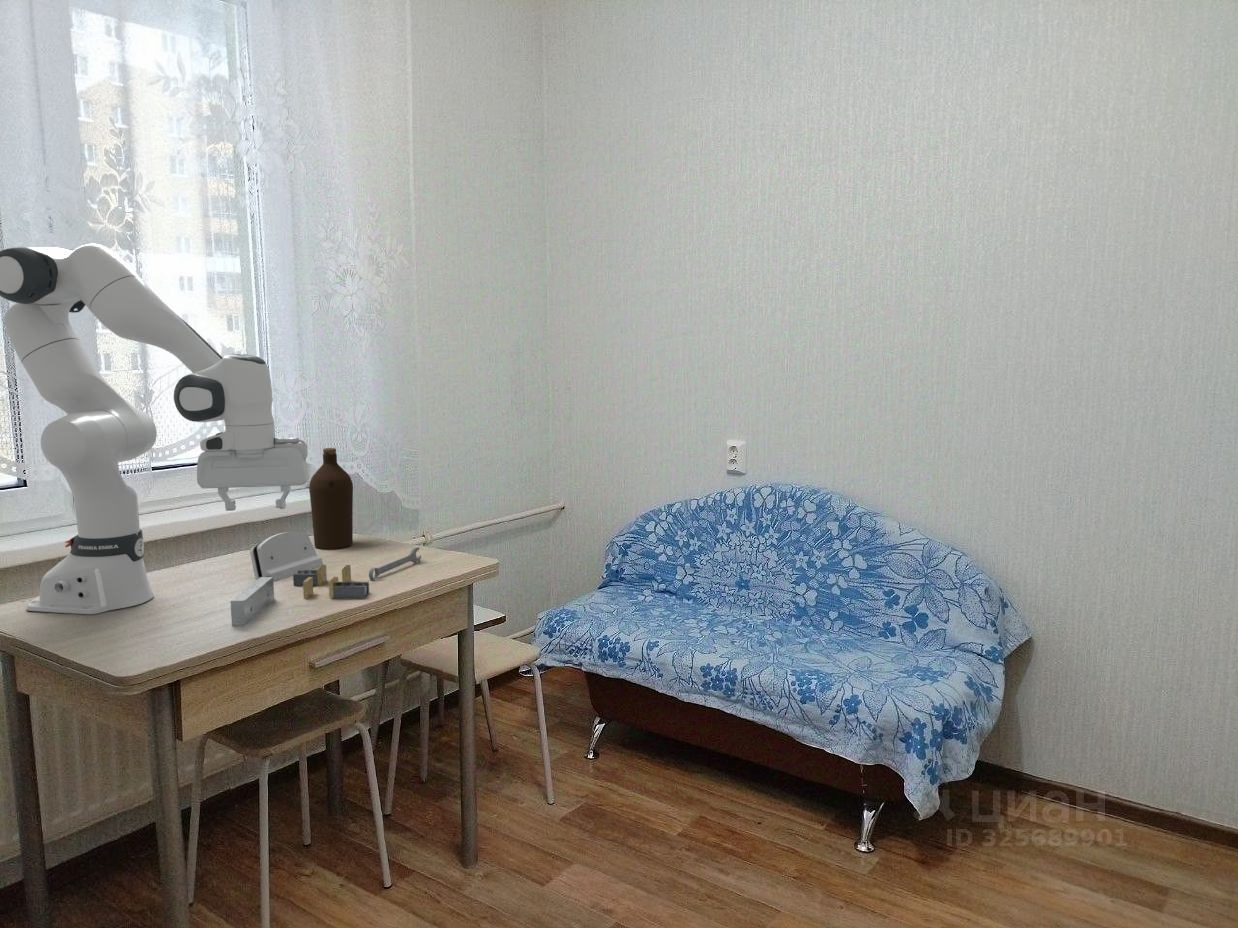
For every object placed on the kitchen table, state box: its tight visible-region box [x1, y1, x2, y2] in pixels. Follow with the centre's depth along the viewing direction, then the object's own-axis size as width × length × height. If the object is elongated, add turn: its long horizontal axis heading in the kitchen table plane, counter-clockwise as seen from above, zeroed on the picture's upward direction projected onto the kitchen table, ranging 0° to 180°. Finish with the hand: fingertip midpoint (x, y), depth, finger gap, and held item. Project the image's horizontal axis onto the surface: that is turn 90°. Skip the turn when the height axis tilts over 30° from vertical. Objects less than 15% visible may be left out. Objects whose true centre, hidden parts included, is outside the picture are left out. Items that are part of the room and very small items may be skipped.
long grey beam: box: [230, 576, 275, 627], centre depth 185 cm, size 3×17×5 cm, turn 2°
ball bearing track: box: [292, 564, 370, 599], centre depth 201 cm, size 18×14×4 cm
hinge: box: [249, 531, 324, 582], centre depth 216 cm, size 17×5×10 cm, turn 155°
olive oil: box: [308, 447, 354, 550], centre depth 240 cm, size 11×11×25 cm
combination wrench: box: [368, 546, 422, 581], centre depth 217 cm, size 4×1×20 cm
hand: (255, 509), depth 184 cm, fingers open, 8 cm apart
